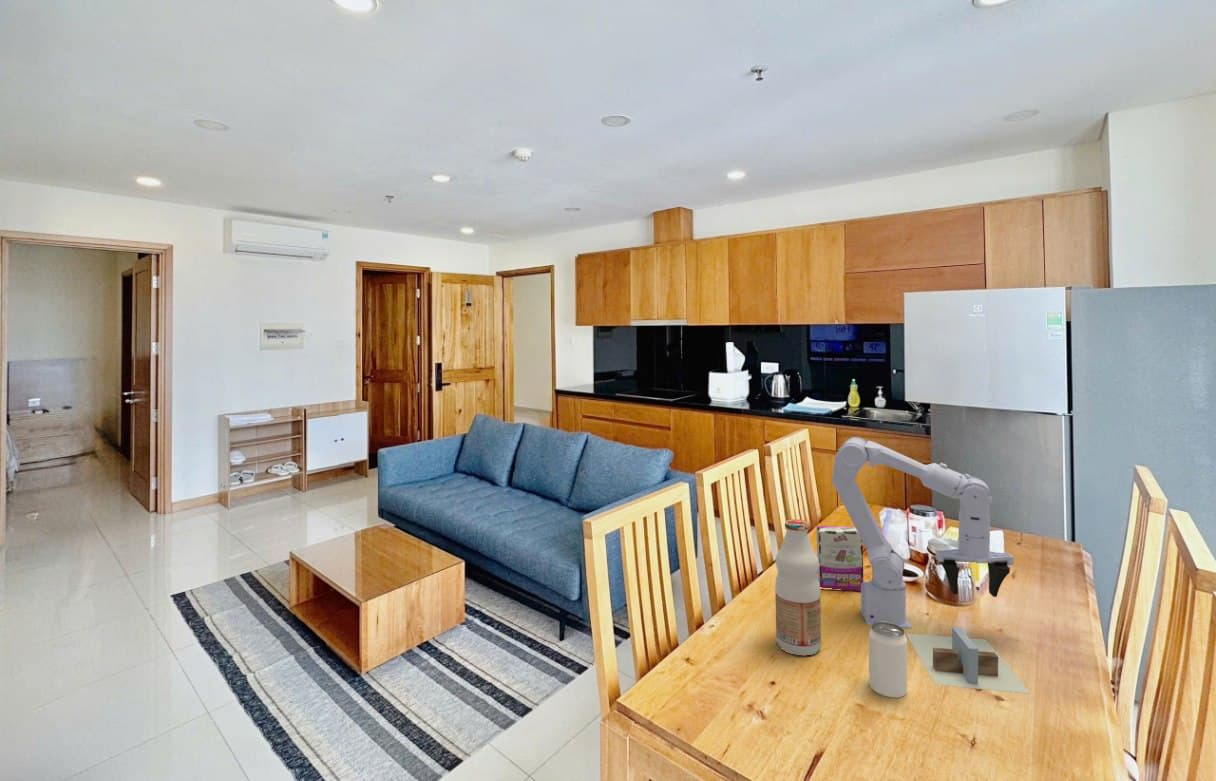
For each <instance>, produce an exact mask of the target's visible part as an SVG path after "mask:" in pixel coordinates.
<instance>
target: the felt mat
mask: <svg viewBox="0 0 1216 781" xmlns="http://www.w3.org/2000/svg"><path fill="white" fill-rule="evenodd" d="M905 636H906V638H908V640H909V642H910V643H911V645H912V647H913V649H914V650H915V652H916V653H917V656H918V658H919V660H920V661H921V662H922V664H923V666H924V668H925V670H926V671H927V673H928V674H929V676H930V677H931V680H932V681H933V684H934V685H936V686H943V687H944V686H945V687H946V686H947V687H956V688H957V687H958V688H967V689H976V690H987V691H996V692H997V691H998V692H1007V693H1017V694H1019V693H1020V694H1030V695H1032V693H1031V691H1030V690H1029V689H1028V688H1027V687H1026V685H1024V683H1023V682H1022V680H1020V678H1019V677H1018V676H1017V674H1015V673H1014V671H1013V670H1012V669H1011V667H1009V665H1008V664H1007V663H1006V662H1005V661H1004V659H1003V658H1002V657H1001V656H1000V654H999V653H998V652H997V651H996V649H994V648H993V646H992V645H991V644H990V642H988V640H987V639H984V638H983V639H980V638H970V639H971V641H972V642H973V643H974V644H975V646H976V647H977V648H978V651H982V652H994V653H995V654H996V655H997V656H998V677H996V676H985V675H978V684H972V683H968V682H967V680H966V679H965V677H964V676H963V673H952V672H941V671H935V669H934V668H933V648H945V649H952V636H942V635H929V634H917V633H915V634H914V633H905Z"/></svg>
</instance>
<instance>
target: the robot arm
mask: <svg viewBox="0 0 1216 781" xmlns="http://www.w3.org/2000/svg"><path fill="white" fill-rule="evenodd" d="M866 462H868V467H873V466H881V465H885V466H887V467H890V468H893V469H895V470H898V471H900V472H903V473H906V474H908V475H911V476H914V477H916V478H918V479H919V480H920V481H921V483H922V485H923V486H924V487H925V488H928V489H929V490H933V491H935V492H938V493H940V494H941V495H944V496H946V497H949V498H951V499H954V500H955V499H957V500H959V502H960V503H959V508H960V509H959V511H958V538H957V539H958V540H957V542H958V548H956V549H955V548H954V549H945V550H944V549H942V550H939V549H938V550H935V560H937V561H938V563H941V565H942V568H943V570H944V572H945V574H946V577H947V580H948V584H949V588H950V589H949V590H950V592H951V593H952V594H953V595H958V594H959V584H958V583H959V582H958V581H959V573H960V567H959V566H958V563H959V562H960V563H963V562H964V563H976V564H987V569H988V570H987V571H988V594H989V595H990V596H992V597H994V598H997V597H998V593H999V590H1000V587H1001V585H1002V584H1003V581H1004V580H1005V579H1006V577H1007V576H1008V575H1009V574H1010V572H1011V568H1010V567H1009V566H1014V556H1013V555H1012V554H1010V553H1008V552H1007V553H1005V552H997V551H990V549H991V548H990V547H991V546H990V545H991V544H990V541H991V539H990V538H991V515H990V511H991V508H990V506H991V504H992V502H993V497H992V494H991V491H990V488H989V486H988V484H987V483H986V482H985V481H984V480H981V478H979V477H977V476H971V475H970V474H968V473H965V474H964V473H960V472H958V471H955V470H954V469H953V470H952V469H950V468H947V467H948V464H946V463H944V462H940V464H938V463H935V462H933V463H930V464H924V463H923V462H920V461H918V460H916V459H912V458H910V457H909V456H906V455H904V454H901V453H900V452H897V451H895V450H894V449H891V448H889V447H886V446H884V445H882V444H880V443H877V442H875V441H871V440H866V439H865V438H862V437H858V436H853V437H850V438H848V439H846V441H845V442H844V443H843V445H841V446H840V448H839V449H838V451H837V452H836V454H835V456H834V464H833V470H832V477H831V481H832V484H833V486H834V488H835V490H836V491H837V494H838V497H839V498H840V501H841V502H842V504H843V506H844V508H845V510H846V512H847V514H848V516H849V518H850V520H851V521H852V524H853V527H855V528H856V530H857V532H858V534H859V536H860V538H861V540H862V542H863V546H864V547H865V549H866V554H867V559H868V562H869V564H870V566H871V576H872V578H871V580H870V581H863V582H862V583H861V592H860V613H861V615H862V617H863V619H864V621H865V624H866V625H867V626H868V627H871V626H872V624H873V623H875V622H890V623H893V624H896V625H898V626H900V627H901V628H903V629H912V625H911V624H910V622H909V620H908V619H907V617H906V614H907V613H906V612H907V610H906V609H907V608H906V605H907V604H906V603H907V602H906V601H907V600H906V599H907V597H906V596H907V595H906V593H907V592H906V589H907V586H906V585H907V584H906V582H905V581H904V580H903V578H904V577H903V575H904V574H903V572H904V569H905V561H904V558H903V557H902V555H900V553H898V552H896V550H895V549H894V548H893V546H892V545H891V543H890V542H889V541H888V540H887V539H886V537H885V535H884V533H883V531H882V529H881V528H880V525H879V523H878V522H877V520H876V517H875V515H874V514H873V512H872V510H871V508H870V506H869V504H868V502H867V500H866V498H865V496H864V494H863V493H862V490H861V488H860V487H859V485H858V483H857V481H856V478H857V476H858V473H859V472H860V470H861V469H862V468H863V467H864V465H865V464H866ZM956 562H958V563H956Z"/></svg>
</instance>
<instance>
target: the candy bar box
mask: <svg viewBox="0 0 1216 781" xmlns="http://www.w3.org/2000/svg"><path fill="white" fill-rule="evenodd" d="M816 555H817V556H818V559H819V571H818V574H817V578H818V580H819V583H820V587H822V588H832V589H841V590H853V591H852V592H860V591H861V583H862V582H864V544H863V542H862V540H861V538H860V536H859V534H858V532H857V530H856V528H855V526H836V525H834V526H831V525H829V526H828V525H827V526H826V525H825V526H824V525H817V526H816Z"/></svg>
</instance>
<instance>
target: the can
mask: <svg viewBox="0 0 1216 781" xmlns="http://www.w3.org/2000/svg"><path fill="white" fill-rule="evenodd" d="M870 627H871V629H870V630H869V632H868V633H869V634H868V674H869V676H868V680H869V681H868V682H869V686H870V688H871V689H872V690H873V691H874V692H875V693H877V694H879V695H881V696H884V697H888V698H892V699H895V698H902V697H904V696H906V695H907V692H908V639H907V636H906V633H905V630H904V628H901V627H900V626H898V625H896V624H893V623H890V622H875V623H873V624H872V626H870Z"/></svg>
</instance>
